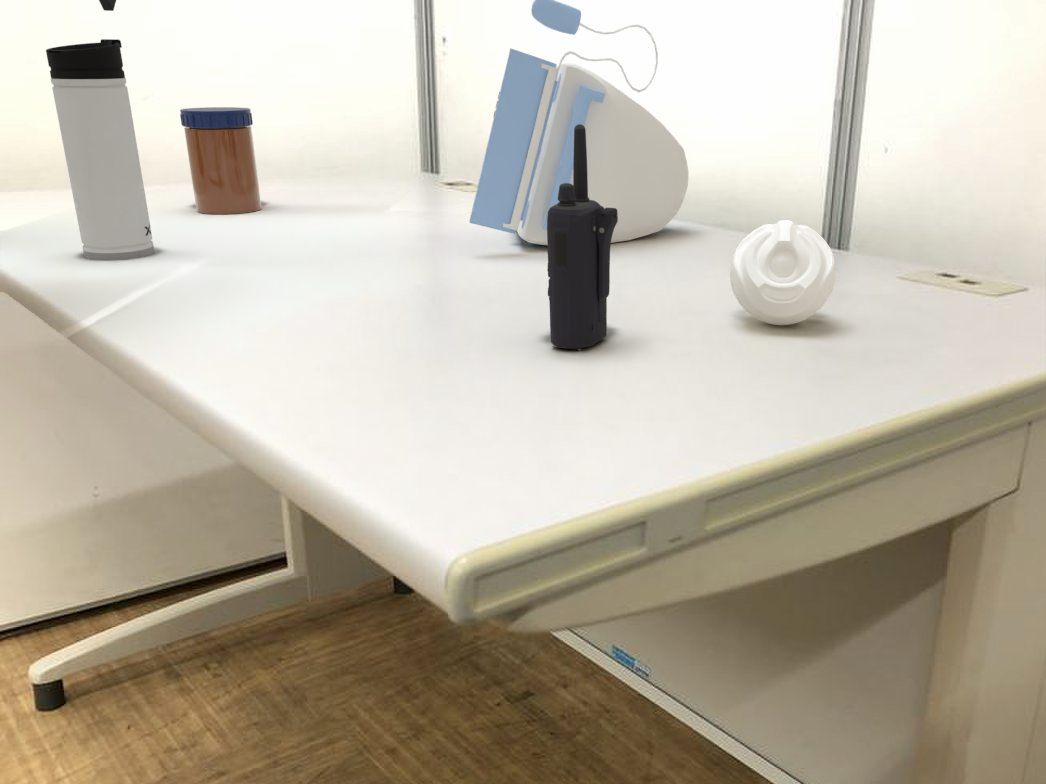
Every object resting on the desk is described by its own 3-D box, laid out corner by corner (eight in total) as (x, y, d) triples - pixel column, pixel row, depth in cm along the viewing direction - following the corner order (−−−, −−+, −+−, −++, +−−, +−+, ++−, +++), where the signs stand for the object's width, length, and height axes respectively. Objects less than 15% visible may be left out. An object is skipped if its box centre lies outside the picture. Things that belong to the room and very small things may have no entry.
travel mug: (172, 257, 105) (137, 39, 98) (112, 268, 100) (70, 39, 92) (132, 250, 108) (95, 39, 101) (71, 261, 103) (28, 38, 95)
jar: (187, 214, 131) (172, 115, 126) (208, 205, 138) (195, 111, 134) (251, 214, 131) (238, 115, 127) (269, 205, 138) (257, 111, 134)
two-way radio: (574, 331, 80) (571, 121, 74) (629, 338, 78) (630, 124, 72) (541, 350, 75) (535, 127, 69) (599, 357, 73) (598, 129, 68)
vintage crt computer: (526, -17, 99) (481, -12, 113) (468, 229, 105) (432, 204, 119) (753, 67, 110) (686, 62, 124) (688, 284, 116) (631, 256, 131)
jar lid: (171, 127, 127) (169, 111, 126) (195, 122, 134) (193, 107, 134) (241, 128, 127) (238, 111, 126) (261, 123, 135) (259, 107, 134)
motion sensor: (725, 333, 80) (729, 228, 77) (731, 309, 86) (735, 213, 84) (833, 337, 79) (841, 232, 76) (830, 313, 86) (837, 216, 83)
